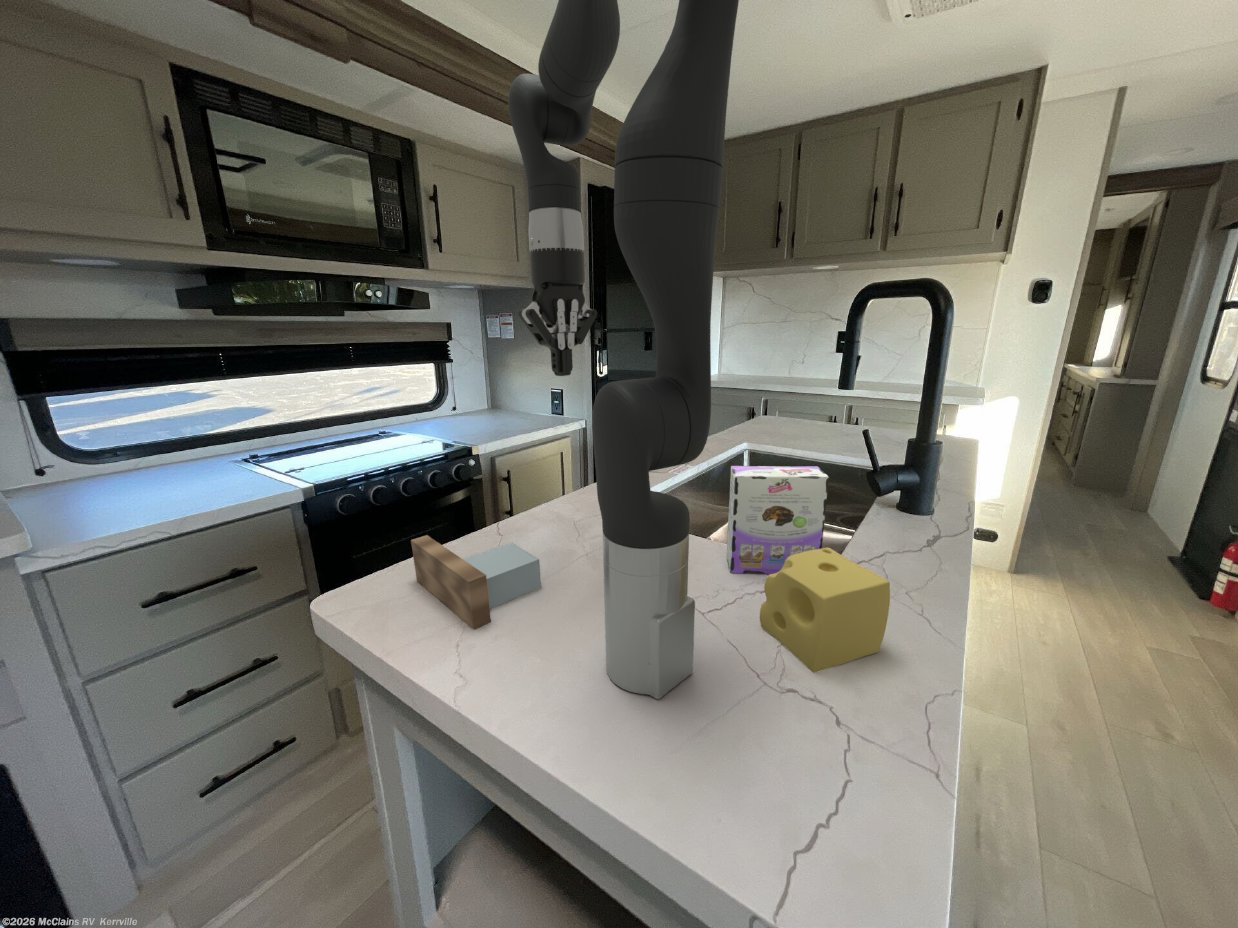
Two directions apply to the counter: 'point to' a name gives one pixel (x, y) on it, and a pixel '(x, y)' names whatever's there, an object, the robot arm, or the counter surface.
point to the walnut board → (452, 581)
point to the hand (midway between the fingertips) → (562, 375)
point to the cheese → (826, 608)
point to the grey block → (507, 572)
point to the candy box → (774, 515)
